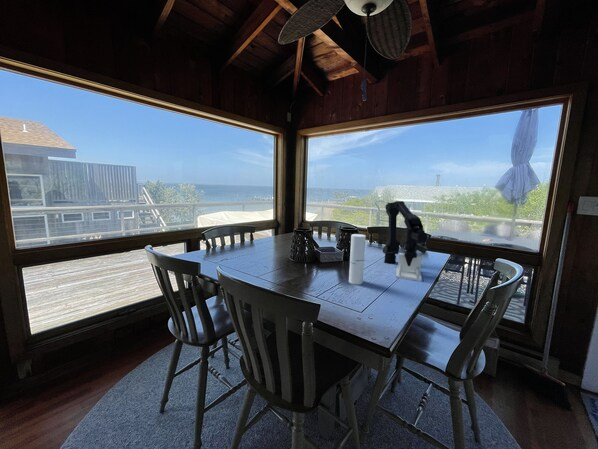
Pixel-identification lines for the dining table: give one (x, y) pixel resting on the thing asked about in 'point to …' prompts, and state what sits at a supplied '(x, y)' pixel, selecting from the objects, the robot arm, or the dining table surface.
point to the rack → (408, 274)
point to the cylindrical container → (357, 258)
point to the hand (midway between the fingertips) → (408, 265)
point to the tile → (414, 264)
